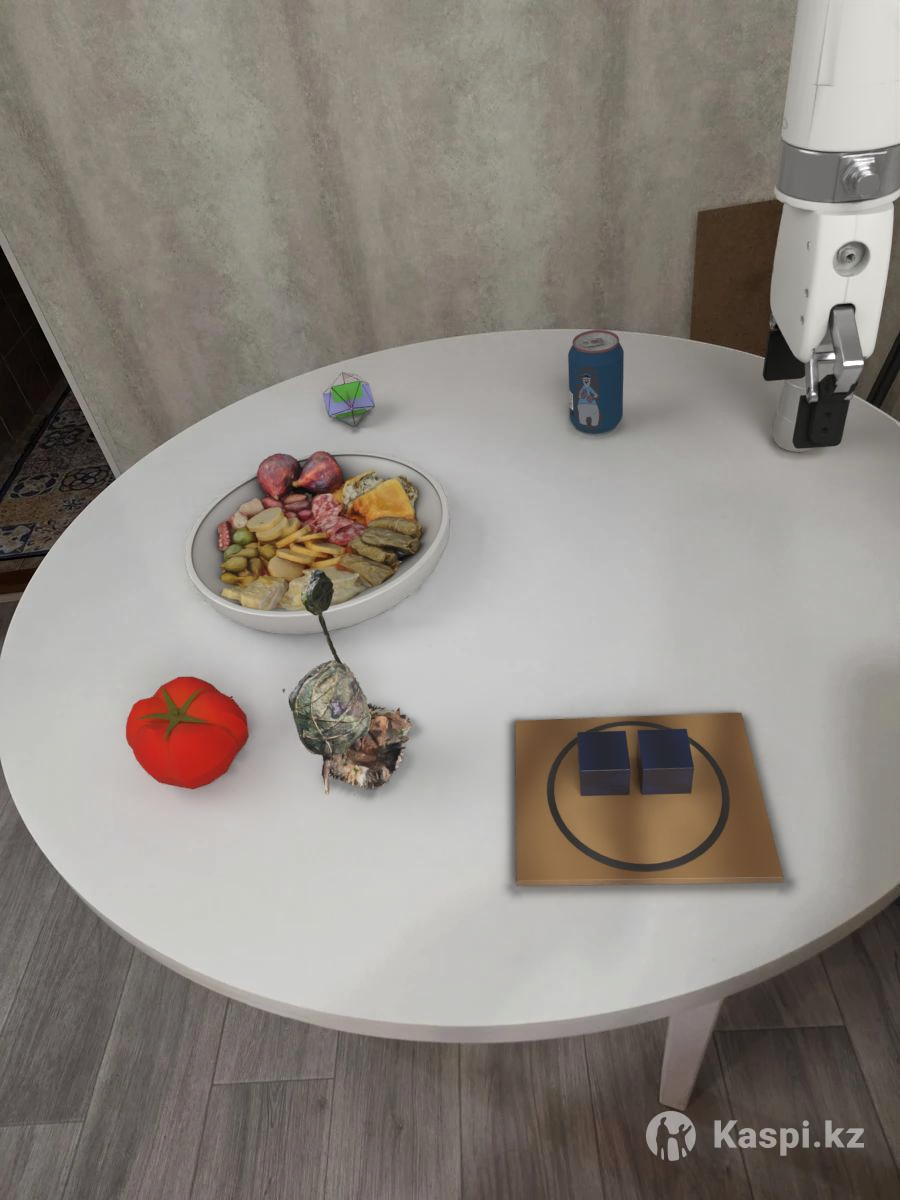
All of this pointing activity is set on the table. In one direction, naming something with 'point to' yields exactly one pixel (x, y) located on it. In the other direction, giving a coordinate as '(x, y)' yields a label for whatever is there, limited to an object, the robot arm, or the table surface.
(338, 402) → the geometric puzzle
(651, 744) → the dark blue cube
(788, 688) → the table surface
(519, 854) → the board
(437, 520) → the bowl
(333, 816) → the table surface
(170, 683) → the tomato
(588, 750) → the dark blue block
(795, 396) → the plastic bottle
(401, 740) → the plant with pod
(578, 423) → the soda can
